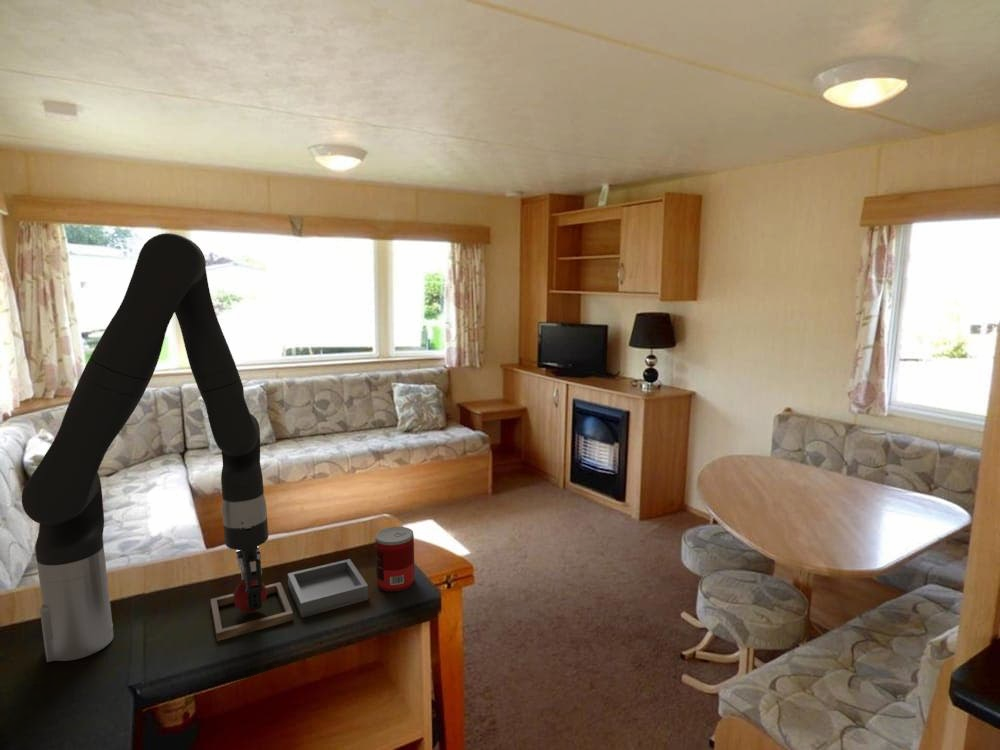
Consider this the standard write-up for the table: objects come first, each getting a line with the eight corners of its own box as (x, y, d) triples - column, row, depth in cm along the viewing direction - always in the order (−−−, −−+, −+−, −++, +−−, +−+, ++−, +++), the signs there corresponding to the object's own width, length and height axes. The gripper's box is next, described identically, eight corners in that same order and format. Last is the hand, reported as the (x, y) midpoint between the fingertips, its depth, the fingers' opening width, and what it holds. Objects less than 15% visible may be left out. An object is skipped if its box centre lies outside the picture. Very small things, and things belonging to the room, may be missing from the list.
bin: (301, 617, 110) (300, 603, 110) (288, 587, 122) (287, 573, 121) (368, 599, 117) (368, 585, 116) (350, 571, 128) (349, 558, 128)
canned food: (422, 579, 125) (421, 531, 123) (396, 596, 118) (395, 545, 116) (395, 570, 129) (393, 523, 127) (369, 586, 122) (367, 536, 120)
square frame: (217, 641, 103) (216, 633, 103) (211, 606, 114) (210, 599, 114) (293, 620, 110) (292, 612, 110) (280, 588, 121) (280, 582, 121)
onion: (245, 625, 108) (242, 585, 107) (229, 614, 112) (225, 575, 110) (273, 611, 113) (271, 572, 111) (257, 601, 116) (254, 564, 115)
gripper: (219, 509, 113) (226, 586, 116) (227, 536, 101) (234, 622, 104) (260, 501, 117) (266, 576, 120) (273, 527, 105) (279, 610, 108)
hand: (252, 598), depth 112 cm, fingers open, 8 cm apart
